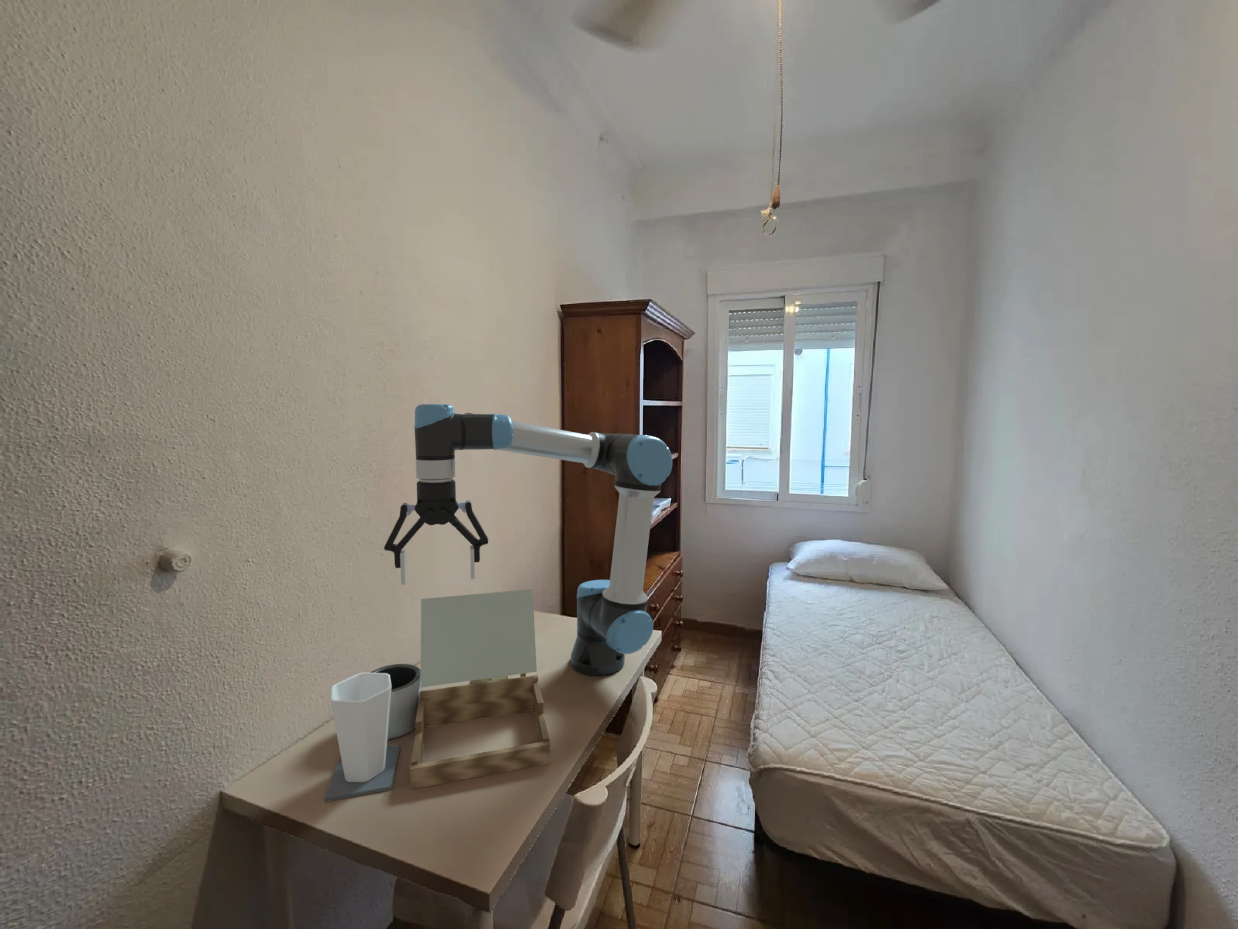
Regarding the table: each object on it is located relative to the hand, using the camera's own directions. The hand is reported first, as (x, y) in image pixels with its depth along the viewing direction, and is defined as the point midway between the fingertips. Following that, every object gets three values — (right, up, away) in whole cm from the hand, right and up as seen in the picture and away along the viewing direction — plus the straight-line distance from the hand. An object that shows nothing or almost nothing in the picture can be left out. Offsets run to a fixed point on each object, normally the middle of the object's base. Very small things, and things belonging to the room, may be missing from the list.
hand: (439, 580), depth 105 cm
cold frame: (+8, -35, +3) cm, 36 cm away
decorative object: (+6, -33, +18) cm, 38 cm away
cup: (-11, -35, -8) cm, 38 cm away
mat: (-12, -36, -8) cm, 38 cm away
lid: (+5, -16, +12) cm, 20 cm away
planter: (-13, -34, +7) cm, 37 cm away
